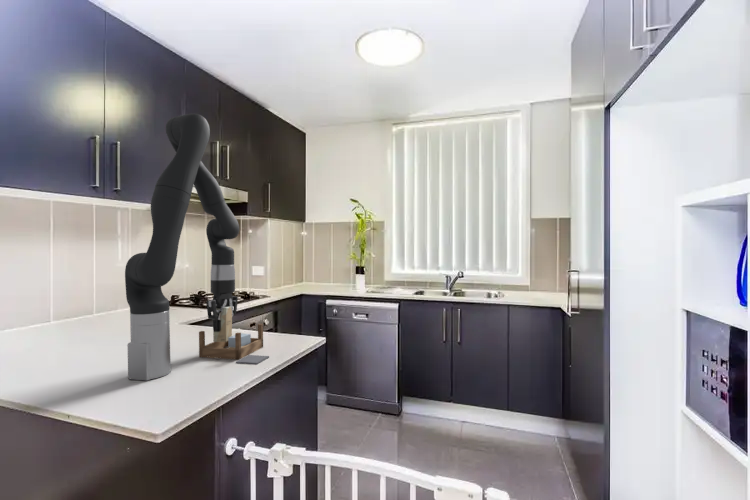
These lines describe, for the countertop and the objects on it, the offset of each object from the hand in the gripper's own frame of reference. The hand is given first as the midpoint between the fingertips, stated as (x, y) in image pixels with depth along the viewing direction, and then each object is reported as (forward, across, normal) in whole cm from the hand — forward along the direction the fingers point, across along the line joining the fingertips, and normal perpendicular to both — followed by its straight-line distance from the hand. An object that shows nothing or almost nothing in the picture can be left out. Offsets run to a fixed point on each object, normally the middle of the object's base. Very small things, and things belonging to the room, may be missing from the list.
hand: (222, 329), depth 124 cm
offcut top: (+5, -1, -7) cm, 8 cm away
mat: (+7, -6, -15) cm, 18 cm away
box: (+4, 0, 0) cm, 4 cm away
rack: (+7, 0, -3) cm, 8 cm away
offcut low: (+8, 0, -7) cm, 10 cm away
